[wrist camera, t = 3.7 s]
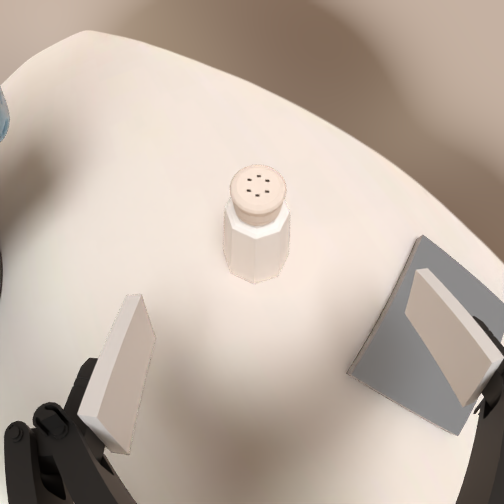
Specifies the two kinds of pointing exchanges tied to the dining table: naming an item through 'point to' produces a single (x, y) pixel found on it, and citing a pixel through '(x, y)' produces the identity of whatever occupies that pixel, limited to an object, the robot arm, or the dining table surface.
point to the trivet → (414, 349)
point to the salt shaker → (256, 224)
